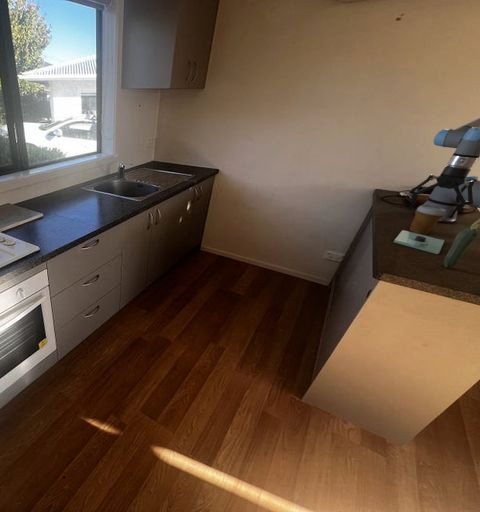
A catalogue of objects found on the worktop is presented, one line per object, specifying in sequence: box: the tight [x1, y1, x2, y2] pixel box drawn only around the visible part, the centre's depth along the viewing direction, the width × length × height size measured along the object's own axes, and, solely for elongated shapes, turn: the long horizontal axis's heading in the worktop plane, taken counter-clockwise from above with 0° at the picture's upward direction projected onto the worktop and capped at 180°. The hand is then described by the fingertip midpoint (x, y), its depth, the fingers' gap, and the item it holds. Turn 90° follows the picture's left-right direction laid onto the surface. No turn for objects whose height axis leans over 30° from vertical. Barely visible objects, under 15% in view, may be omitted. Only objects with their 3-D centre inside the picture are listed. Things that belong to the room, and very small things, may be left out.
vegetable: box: [443, 217, 480, 269], centre depth 105 cm, size 4×4×20 cm
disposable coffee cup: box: [409, 204, 446, 235], centre depth 137 cm, size 10×10×12 cm
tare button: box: [415, 236, 426, 242], centre depth 124 cm, size 3×3×2 cm
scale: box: [393, 229, 445, 255], centre depth 128 cm, size 18×14×3 cm
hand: (429, 213), depth 135 cm, fingers open, 13 cm apart
